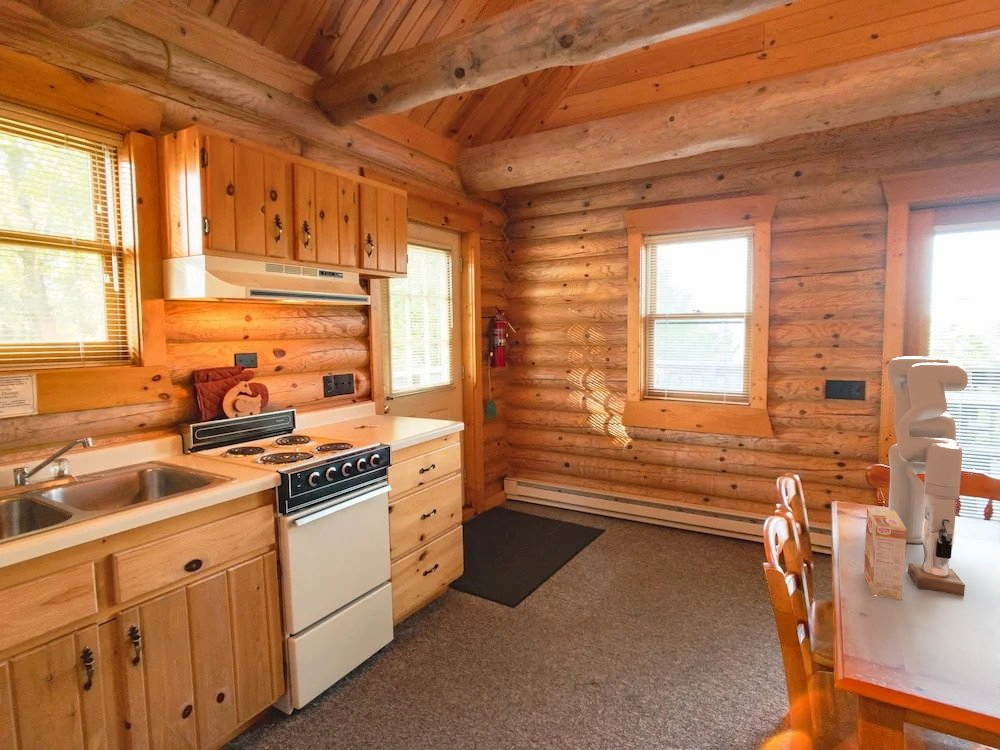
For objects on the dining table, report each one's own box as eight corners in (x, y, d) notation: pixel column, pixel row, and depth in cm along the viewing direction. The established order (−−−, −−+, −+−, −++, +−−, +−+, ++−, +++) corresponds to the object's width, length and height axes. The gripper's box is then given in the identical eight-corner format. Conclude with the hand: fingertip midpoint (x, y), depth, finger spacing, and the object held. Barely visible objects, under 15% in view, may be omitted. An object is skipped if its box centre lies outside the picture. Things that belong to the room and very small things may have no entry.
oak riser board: (907, 573, 159) (908, 562, 159) (951, 579, 155) (951, 568, 155) (918, 588, 150) (918, 577, 150) (964, 595, 146) (965, 584, 146)
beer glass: (957, 579, 149) (961, 525, 147) (928, 577, 150) (931, 523, 149) (942, 567, 156) (945, 515, 154) (914, 565, 157) (917, 514, 155)
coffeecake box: (862, 571, 161) (866, 506, 159) (892, 576, 158) (896, 510, 156) (870, 595, 147) (874, 524, 145) (903, 601, 144) (908, 528, 142)
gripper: (915, 479, 159) (911, 536, 161) (934, 497, 144) (930, 561, 145) (947, 482, 156) (943, 540, 158) (971, 501, 141) (966, 565, 142)
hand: (937, 550), depth 152 cm, fingers open, 9 cm apart
